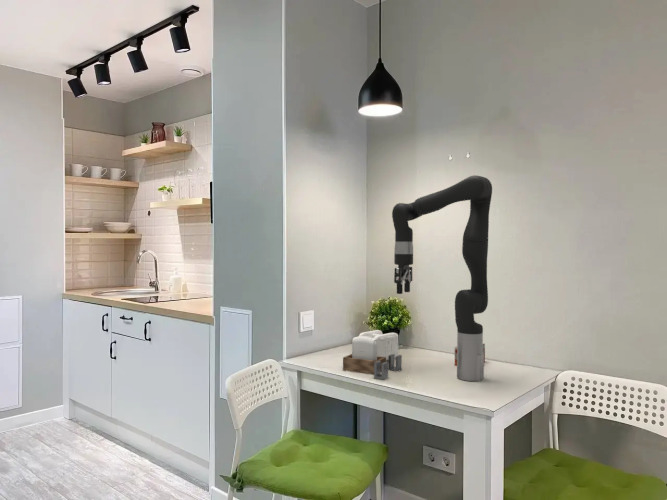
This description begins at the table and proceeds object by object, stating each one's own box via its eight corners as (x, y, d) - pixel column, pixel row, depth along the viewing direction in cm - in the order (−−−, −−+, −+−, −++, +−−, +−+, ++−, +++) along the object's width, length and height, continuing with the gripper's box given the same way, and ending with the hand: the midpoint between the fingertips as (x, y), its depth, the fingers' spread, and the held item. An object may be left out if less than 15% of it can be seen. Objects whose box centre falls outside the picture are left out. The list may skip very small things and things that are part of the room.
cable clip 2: (401, 369, 211) (401, 354, 211) (397, 371, 208) (397, 356, 208) (392, 368, 213) (392, 353, 213) (388, 370, 210) (388, 355, 210)
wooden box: (386, 369, 211) (386, 357, 211) (376, 374, 203) (377, 361, 203) (352, 365, 218) (353, 353, 217) (342, 370, 210) (343, 357, 210)
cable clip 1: (388, 377, 199) (388, 362, 199) (383, 379, 195) (384, 364, 195) (378, 376, 201) (378, 360, 201) (373, 378, 197) (374, 362, 197)
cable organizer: (380, 355, 238) (380, 329, 238) (399, 358, 230) (399, 332, 230) (357, 360, 227) (358, 333, 227) (376, 364, 220) (376, 336, 220)
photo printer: (350, 366, 211) (350, 335, 210) (355, 364, 214) (355, 334, 214) (374, 370, 206) (374, 338, 206) (378, 367, 210) (378, 336, 209)
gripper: (406, 253, 206) (406, 295, 207) (418, 252, 219) (418, 292, 219) (388, 253, 210) (388, 294, 210) (401, 252, 222) (401, 291, 223)
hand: (403, 292), depth 215 cm, fingers open, 8 cm apart
